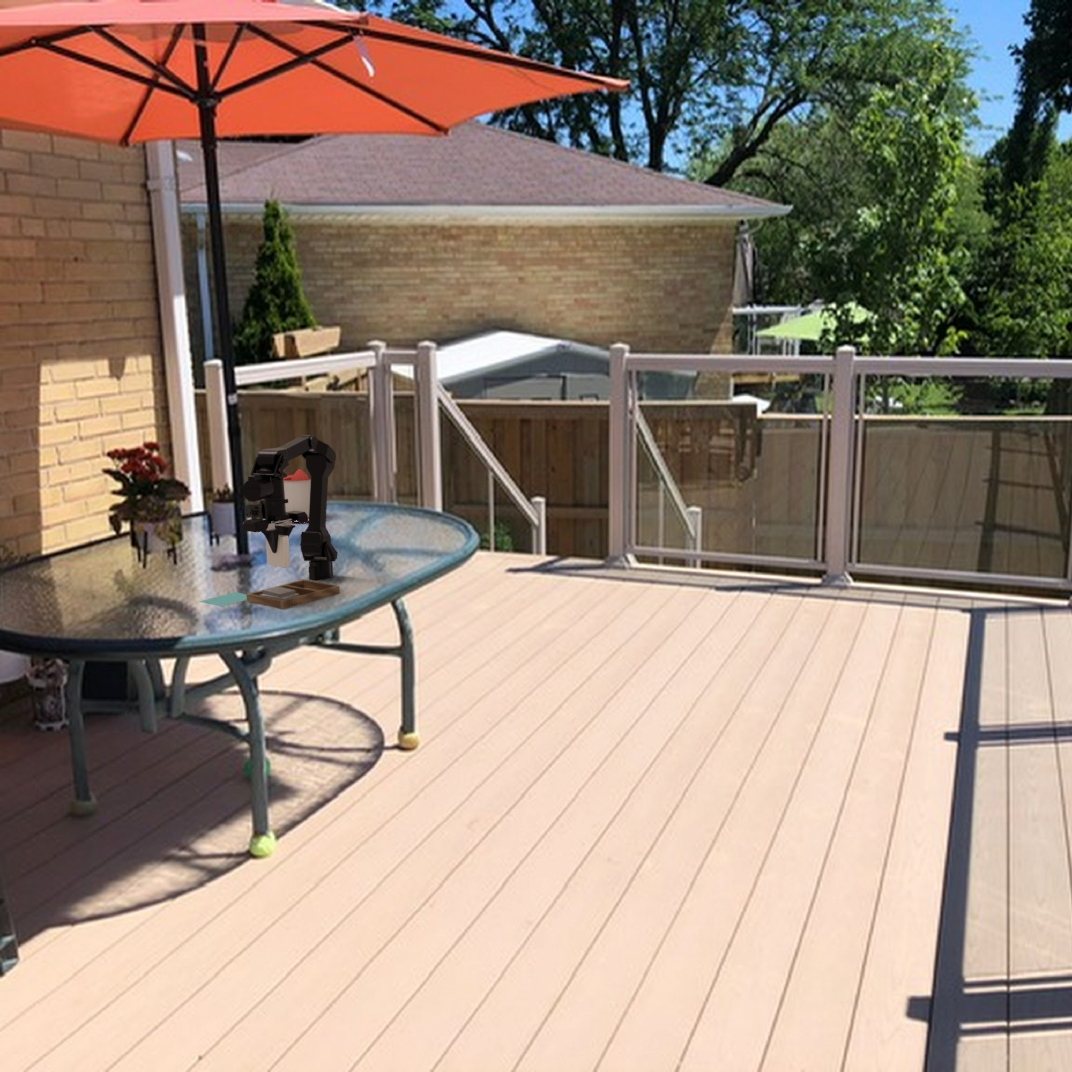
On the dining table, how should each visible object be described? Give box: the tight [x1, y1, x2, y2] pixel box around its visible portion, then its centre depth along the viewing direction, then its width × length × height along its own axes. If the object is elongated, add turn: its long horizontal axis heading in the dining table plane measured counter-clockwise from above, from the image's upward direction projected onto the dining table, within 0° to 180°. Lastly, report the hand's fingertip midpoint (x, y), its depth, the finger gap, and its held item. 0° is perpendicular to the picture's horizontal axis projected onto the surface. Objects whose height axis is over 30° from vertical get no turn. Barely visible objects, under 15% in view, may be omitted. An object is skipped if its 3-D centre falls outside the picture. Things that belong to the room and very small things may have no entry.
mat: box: [199, 591, 247, 607], centre depth 304 cm, size 12×10×1 cm
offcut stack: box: [260, 585, 299, 600], centre depth 299 cm, size 6×11×3 cm, turn 53°
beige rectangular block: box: [265, 535, 291, 568], centre depth 303 cm, size 2×7×8 cm, turn 54°
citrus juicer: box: [283, 468, 311, 519], centre depth 422 cm, size 16×17×20 cm
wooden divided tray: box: [245, 579, 341, 610], centre depth 304 cm, size 20×15×3 cm
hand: (277, 552), depth 303 cm, fingers closed on beige rectangular block, 2 cm apart
